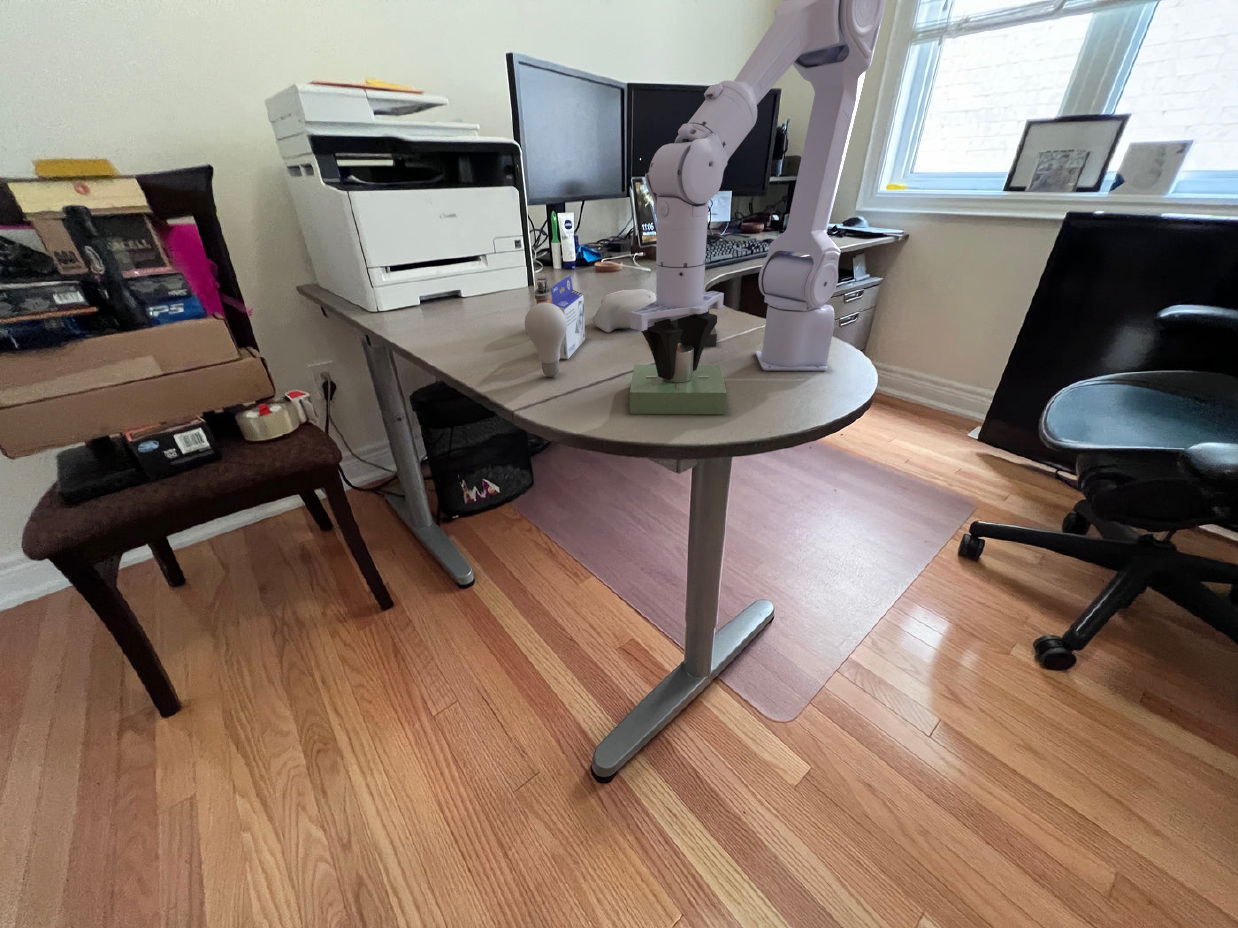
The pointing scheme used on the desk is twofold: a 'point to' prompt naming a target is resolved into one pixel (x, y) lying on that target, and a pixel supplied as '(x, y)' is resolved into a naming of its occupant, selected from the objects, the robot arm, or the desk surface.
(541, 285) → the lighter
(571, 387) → the desk surface
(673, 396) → the panel
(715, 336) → the button base
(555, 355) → the lightbulb
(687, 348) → the lock knob
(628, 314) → the shell shaped sculpture
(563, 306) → the ink box
